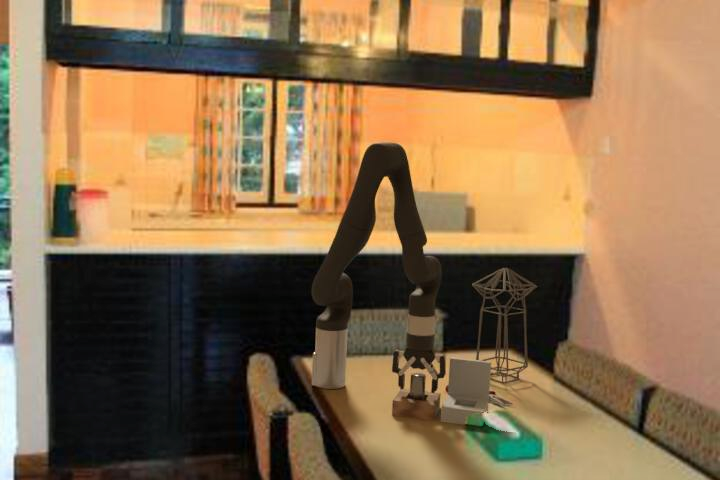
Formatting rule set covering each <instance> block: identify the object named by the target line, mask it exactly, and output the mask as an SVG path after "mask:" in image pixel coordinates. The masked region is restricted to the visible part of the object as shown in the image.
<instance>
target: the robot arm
mask: <svg viewBox="0 0 720 480" xmlns="http://www.w3.org/2000/svg"><path fill="white" fill-rule="evenodd" d="M359 166H360V167H359V170H358V173H357V177H356V179H355V183H354V186H353V189H352V192H351V194H350V197H349V200H348V202H347V205H346V207H345V210H344V212H343V214H342V217H341V220H340V222H339V224H338V226H337V227H338V228H337V230H336V233H335V235H334V238H333V240H332V241H331V244H330V247H329V249H328V252H327V254H326V256H325V258H324V260H323V262H322V264H321V265H320V268H319V270H318V271H317V273H316V274H315V277H314V279H313V282H312V285H311V297H312V300H313V301H314V303H315V304H316V305H318V306H321V307H326V308H325V310H324V311H323V312H322V313H321V314H320V315H318V316H317V317H316V320H315V321H316V322H315V345H314V346H315V348H314V349H315V350H314V352H313V353H312V361H311V362H312V364H311V386H314V387H317V388H319V389H325V390H327V389H328V390H335V389H337V390H338V389H342V388H344V387H345V386H346V379H347V378H346V371H347V370H346V369H347V353H348V351H347V349H348V348H347V347H348V330H349V329H348V325H349V322H350V319H351V316H352V308H353V295H354V294H353V293H354V290H353V289H354V288H353V283H352V280H351V277H349V275H348V274H347V273H345V272H344V271H345V270H346V268H347V267H348V266H349V264H350V263H351V262H352V261H353V260H354V259H355V258H356V257H357V256H358V255H359V254H360V253H361V251H362V250H363V249H364V248H365V246H367V244H368V242H369V240H370V238H371V235H372V232H373V231H374V228H375V224H376V219H377V210H376V197H377V193H378V191H379V188H380V186H381V183H382V182H383V180H384V178H387V179H388V180H389V182H390V184H391V187H392V191H393V196H394V197H393V199H394V204H393V207H394V208H393V222H394V226H395V230H396V233H397V236H398V239H399V241H400V244H401V253H402V254H401V255H402V263H403V270H404V273H405V276H406V278H407V279H408V280H409V281H410V282H411V283H412V284H414V285H416V287H415V290H414V291H412V292H411V293H410V295H409V299H408V312H407V313H408V314H407V320H406V333H405V337H406V339H405V350H400V349H399V348H397V349H395V350H394V351H393V355H392V356H393V357H392V365H391V366H392V367H391V371H392V373H395V374H397V375H398V378H397V379H398V380H397V381H398V383H397V385H398V387H399V388H400V389H405V382H406V381H405V380H406V374H405V373H406V372H407V370H409V368H411V369H416V370H417V369H419V370H423V371H424V370H426V371H427V372H428V374H430V376H431V378H432V379H431V389H430V390H431V391H430V392H431V393H434V392H435V393H436V392H437V390H438V387H439V379H443V378H445V376H446V366H447V365H446V364H447V363H446V360H447V359H446V356H447V355H446V354H445V353H442V354H435V338H436V336H435V335H436V299H437V295H438V293H439V289H440V285H441V280H442V275H443V271H442V269H443V268H442V264H441V262H440V260H439V259H438V258H437V257H435V256H433V255H426V256H425V253H424V247H425V246H426V245H427V242H428V238H427V234H426V231H425V228H424V225H423V222H422V220H421V217H420V213H419V211H418V206H417V203H416V199H415V193H414V187H413V181H412V178H411V177H412V175H411V171H410V165H409V159H408V155H407V152H406V150H405V148H404V146H402V145H401V144H399V143H396V142H390V141H389V142H388V141H387V142H384V141H383V142H379V141H378V142H374V143H371V144H370V145H369V146H368V147H367V149H365V152H364V154H363V157H362V160H361V163H360V165H359ZM402 357H403V358H404V359H405V361H406V363H405V364H404V365H403V367H401V368H400V367H399V364H400V359H401V358H402ZM434 360H436V362H437V364H439V372H438V371H437V370H436V368H435V365H434V364H433V362H434ZM400 389H399V390H400Z"/></svg>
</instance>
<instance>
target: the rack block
mask: <svg viewBox="0 0 720 480" xmlns="http://www.w3.org/2000/svg"><path fill="white" fill-rule="evenodd" d="M491 367H492V361H490V360H487V361H480V359H479V360H476V359H470V358H461V357H452V356H450V358H449V371H448V382H447V383H448V384H447V385H448V392H447V395H446V397H445V399H444V401H443V402H442V405H441V407H440V408H441V409H440V410H441V411H440V422H443V423H449V424H455V425H456V424H458V425H463V426H466V425H465V422H466V417H467V415H468V414H475V413H484V412H486V411H488V412H489V391H490V388H491V386H490V385H491V379H490V378H491V375H490V374H491V372H492V370H491Z"/></svg>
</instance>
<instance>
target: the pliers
mask: <svg viewBox="0 0 720 480" xmlns="http://www.w3.org/2000/svg"><path fill="white" fill-rule="evenodd" d="M445 391H446V393H448V384H447V385H446V386H445ZM489 402H490V403H491V404H494V405H498V406H501V407H502V406H503V407H505V408H506V406H507V405H513V402H511V401H509V400H507V399H505V398H503V397H500V396H499V395H497V393H496V391H495V390H489Z"/></svg>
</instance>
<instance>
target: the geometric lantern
mask: <svg viewBox="0 0 720 480" xmlns="http://www.w3.org/2000/svg"><path fill="white" fill-rule="evenodd" d="M506 274H507V275H506ZM502 276H503V278H502V280H501V277H502ZM491 277H492V278H491ZM488 278H490V279H489V280H488V281H487V282H486V283H480V282H483V281H485V280H486V279H488ZM506 278H507V279H508V281H507V279H506ZM519 279H520V280H521V281H523V282H525V283H527V284H523V283H522V282H521V281H520V280H519ZM499 282H501V283H502V284H503V285H502V287H503V289H496V287H497V286H498V284H499ZM471 286H472V287H473V288H474V289H475V290H476V291H477V292H478V293H479V294H480V295H481V297H483V301H482V305H481V307H480V310H479V321H478V322H479V325H478V338H477V347H476V355H475V356H476V357H475V358H476V359H475V360H480V359H479V357H480V346H481V345H480V344H481V343H480V342H481V333H482V323H483V314H484V312H488V313H492V314H495V315H498V318H497V319H498V320H497V330H496V332H497V333H496V345H495V354H494V355H495V356H493V357H488V358H483V359H481V360H480V361H492V360H494V359H495V361H496V366H495V367H492V366H491V374H490V376H492V375H496V376H499V377H501V380H498V379H496V378H493V377H490V380H492V381H496V382H499V383H501V384H507V383H512V382H514V381H518V380H520V373H521V372H522V371H524V370H526V369H527V368H528V367H529V362H528V360H529V359H528V342H527V341H528V340H527V307H526V297H527V296H528V295H529V294H530V293H532V292H533V290H535V289H536V288H538V286H537V285H536V284H534V283H533V282H531V281H529V280H528V279H527V278H525V277H523V276H521V275H520V274H518V273H517V272H515V271H514V270H512V269H510V268H508V267H502V268H501V269H498V270H496V271H494V272H493V273H491V274H489V275H486V276H485V277H483V278H481V279H479V280H476V281H475V282H472V284H471ZM488 287H490V288H488ZM507 287H508V288H509V289H508V290H507V289H506V288H507ZM512 287H513V288H512ZM526 287H528V288H526ZM519 291H522V292H521V293H520V292H519ZM493 292H497V293H496V294H494V293H493ZM504 292H507V293H509V295H511V297H510V299H509V300H508V301H507V303H506V304H505V305H501V303H500V302H499V301H498V299H497V298H496V297H497V296H499V295H501V294H502V293H504ZM487 294H489V295H490V296H486V295H487ZM486 299H487V300H488V299H489V300H492V301H493V304H494V306H489V307H488V306H487V307H485V301H486ZM513 299H514V301H513V302H512V303H511V301H512V300H513ZM517 301H521V303H522V307H523V308H519V307H513V305H514V304H515V303H516V302H517ZM510 303H511V305H510ZM509 305H510V306H509ZM493 308H497V311H498V312H495V311H491V310H487V309H493ZM502 308H504V313H503V312H502V311H501V310H502ZM510 309H513V310H520V312H512V313H508V312H509V311H510ZM518 314H523V330H524V361H521V360H517V359H513V358H509V340H508V339H509V335H508V334H509V333H508V330H509V329H508V324H509V323H508V316H510V315H518ZM502 316H503V317H504V318H503V320H504V323H503V324H504V325H503V327H504V328H503V356H501V339H502V337H501V335H502ZM501 359H502V361H501ZM505 360H506V367H503V364H504V362H505ZM509 361H511V362H515V363H518V364H519V363H520V364H523V365H522V366H518V367H512V368H509ZM492 370H494V371H495V372H493V371H492ZM510 371H513V373H509V372H510ZM508 373H509V374H508ZM508 376H509V377H512V378H515V379H512V380H511V379H510V380H508V381H507V378H508ZM504 378H505V381H504Z"/></svg>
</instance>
